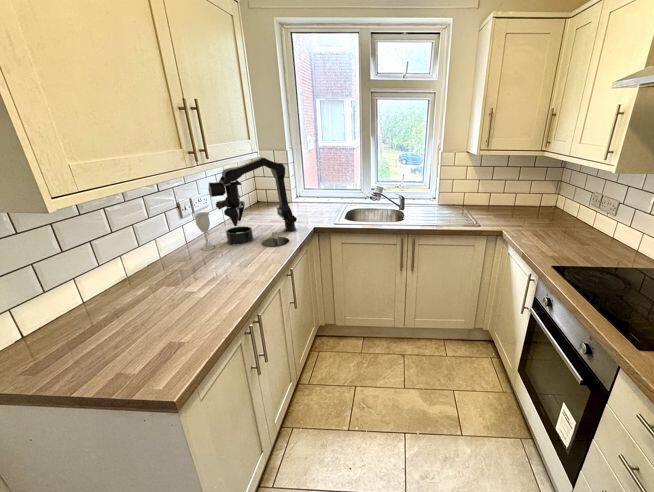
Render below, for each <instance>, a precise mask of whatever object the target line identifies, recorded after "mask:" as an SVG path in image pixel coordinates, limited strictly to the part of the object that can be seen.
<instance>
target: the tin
mask: <svg viewBox="0 0 654 492" xmlns="http://www.w3.org/2000/svg"><path fill="white" fill-rule="evenodd" d="M238 232H244V233H238ZM225 234H226V239H227V244H228V245H230V246H233V245H245V244H248V243H251V242H253V241H254V234H253V228H252V227H250V226H245V225H243V226H242V225H241V226H234V227H230V228H228V229H226V230H225Z"/></svg>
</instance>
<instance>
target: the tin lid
mask: <svg viewBox="0 0 654 492" xmlns="http://www.w3.org/2000/svg"><path fill="white" fill-rule="evenodd" d="M289 242H290V239H289V237H285V236H278V231H273V232H272V237H269V238H266V239H264V240H262V245H263V246H264V247H269V248H275V247H276V248H277V247H282V246H285V245H287V244H289Z"/></svg>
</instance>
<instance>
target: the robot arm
mask: <svg viewBox="0 0 654 492" xmlns="http://www.w3.org/2000/svg"><path fill="white" fill-rule="evenodd" d="M263 167H265V168H268V169H270V171H271V174H272V176H273V178H274V180H275V185H276V191H277V192H276V193H277V197H278V203H279V205H278V207H276V210H277V213H276V214H277V215H278V217H280V218H281V219H282V221H283V222H284V233H292V232H296V231H297V227H296V222H297V220H298V218H297V217H296V216H294V215H293V211H292V209H291V206H290V205H289V202H288V197H287V190H286V189H287V188H286V184H285V183H286V182H285V177H286V166H285V164H283V163H281V162H277V161H272V160H270V159H268V158H266V157H261V156H260V157H259V158H257V159H254V160H252V161H249V162H247V163H244V164H242V165H239V166H234V167H233V166H232V167H227V168H224V169H223V170H222V172H221V176H220V178H219V180H218V181H217V182H215V181H214V182H208V189H207V190H208V194H209V197H211V198H212V197H213V198H214V197H221V196H224V195H225V194H226V197H225V199H223V200H218V201H216V202H215V208H217V209H218V210H219V211H220V210H222V209H223V208H225V209H224V210H223V213H224V214H223V215H224V216H226V217H228V218H230V220H231V222H232V224H233V226H234V227H238V222H241V221H242V218H243V214H244V211H245V207H246V203H245V201H244V200H240V199H241V195H240V192H239V186H242V183H241V182H240V181H239V180H240V179H241V177H242V176H243V175H245V174H247V173H250V172H253V171H255V170H258V169H259V168H263Z"/></svg>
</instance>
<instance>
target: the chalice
mask: <svg viewBox="0 0 654 492" xmlns="http://www.w3.org/2000/svg"><path fill="white" fill-rule="evenodd" d="M192 216H193V217H194V220H195V225H196V227H197V228H198V230H200V232H201V233H203V237H204V241H205V243H204V244H203V247H202V250H203V251H209V250H213V249H214V248H215V246H213V244H212V243H211V242H209V238H208V234H207V232H208V231H209V228H210V225H211V221H210V212H209V211H199V212H196V213H193V214H192Z"/></svg>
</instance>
